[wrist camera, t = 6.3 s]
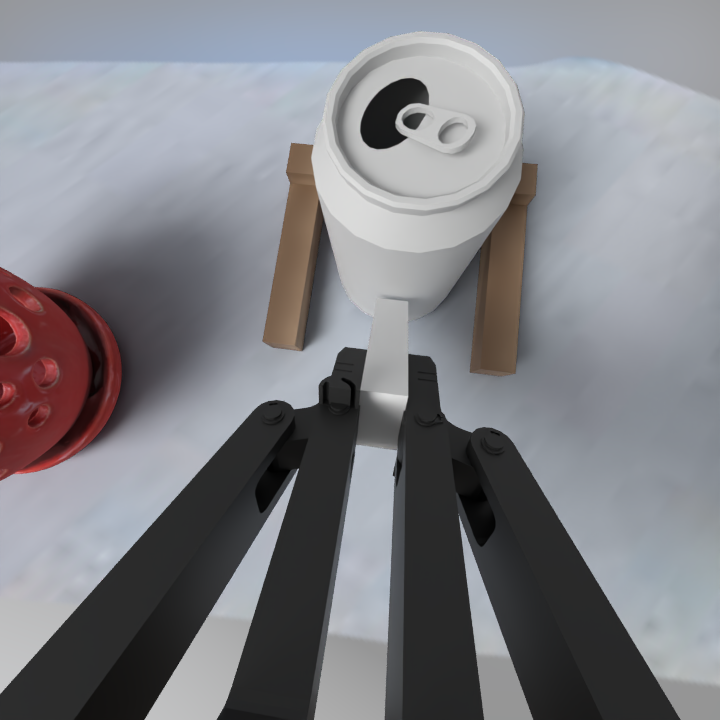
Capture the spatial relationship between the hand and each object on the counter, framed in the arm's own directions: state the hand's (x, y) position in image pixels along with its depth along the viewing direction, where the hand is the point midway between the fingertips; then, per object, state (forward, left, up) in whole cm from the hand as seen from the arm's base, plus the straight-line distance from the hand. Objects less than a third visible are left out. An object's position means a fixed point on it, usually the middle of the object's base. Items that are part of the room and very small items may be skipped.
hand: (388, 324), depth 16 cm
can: (0, -5, -5) cm, 7 cm away
